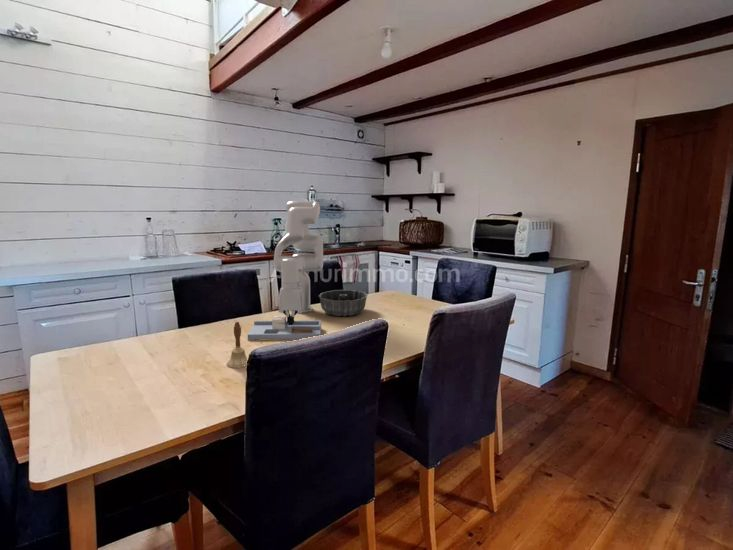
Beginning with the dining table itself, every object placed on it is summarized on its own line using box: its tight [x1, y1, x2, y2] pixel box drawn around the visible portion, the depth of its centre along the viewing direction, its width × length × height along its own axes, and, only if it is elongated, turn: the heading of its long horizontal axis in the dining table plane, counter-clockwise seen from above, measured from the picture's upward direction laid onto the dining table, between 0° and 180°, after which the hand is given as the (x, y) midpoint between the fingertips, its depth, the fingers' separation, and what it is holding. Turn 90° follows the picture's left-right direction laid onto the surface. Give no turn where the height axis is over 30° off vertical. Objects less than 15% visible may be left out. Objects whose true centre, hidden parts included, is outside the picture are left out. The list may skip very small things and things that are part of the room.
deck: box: [247, 320, 322, 341], centre depth 177 cm, size 15×31×4 cm, turn 95°
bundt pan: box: [318, 289, 368, 317], centre depth 214 cm, size 26×26×10 cm
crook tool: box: [292, 328, 312, 333], centre depth 173 cm, size 3×9×1 cm, turn 95°
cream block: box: [271, 315, 287, 329], centre depth 179 cm, size 6×6×4 cm
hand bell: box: [226, 321, 248, 369], centre depth 143 cm, size 8×8×16 cm
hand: (290, 324), depth 180 cm, fingers closed
